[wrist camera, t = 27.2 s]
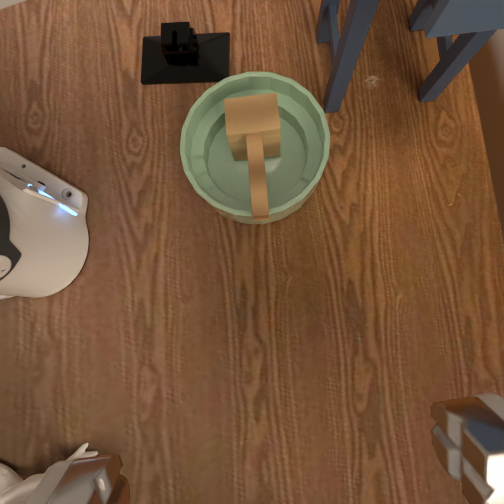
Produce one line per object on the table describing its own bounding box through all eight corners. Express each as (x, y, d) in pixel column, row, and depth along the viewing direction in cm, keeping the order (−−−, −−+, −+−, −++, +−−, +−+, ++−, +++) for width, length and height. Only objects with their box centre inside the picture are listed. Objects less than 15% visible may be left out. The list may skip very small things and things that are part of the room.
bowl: (167, 170, 40) (150, 153, 35) (249, 75, 40) (245, 44, 35) (263, 251, 38) (261, 247, 33) (349, 151, 38) (361, 130, 33)
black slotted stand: (142, 85, 42) (125, 61, 37) (144, 37, 42) (128, 8, 38) (228, 81, 41) (222, 56, 36) (230, 32, 41) (223, 1, 37)
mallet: (287, 226, 36) (289, 211, 30) (239, 231, 37) (231, 217, 31) (276, 124, 39) (276, 92, 33) (232, 130, 39) (223, 99, 33)
